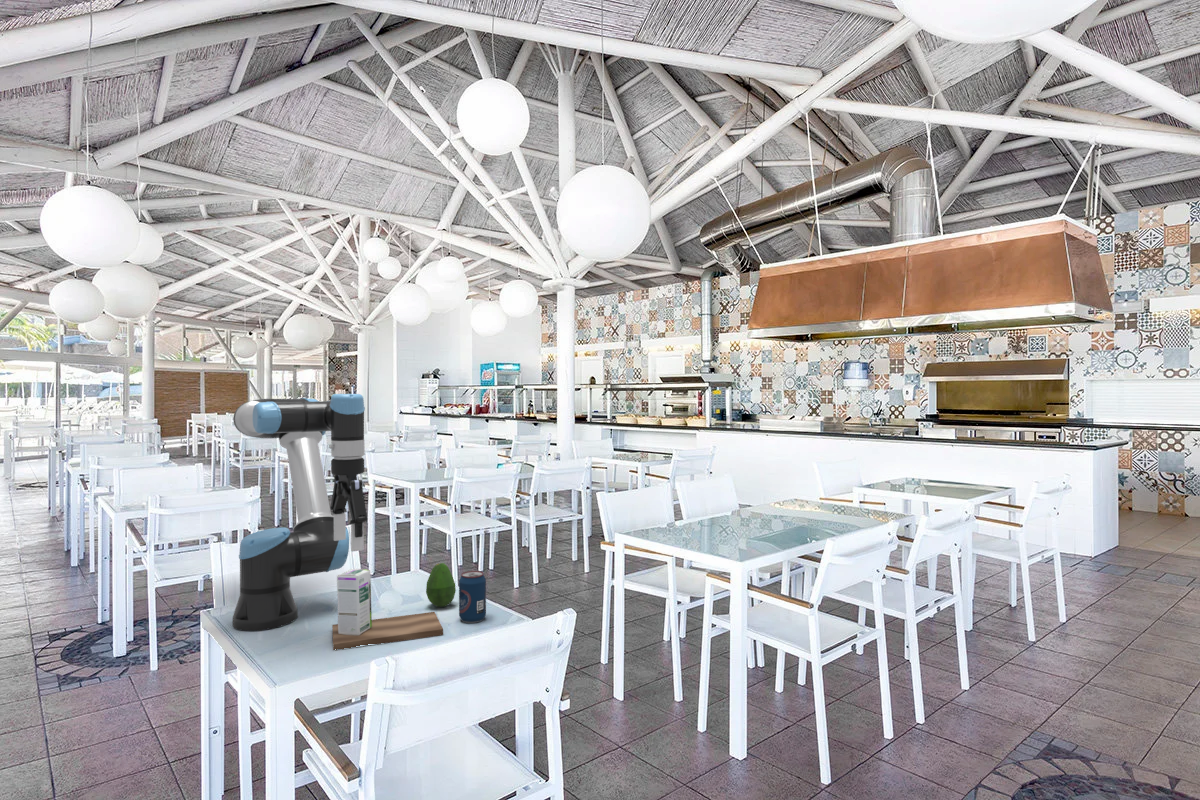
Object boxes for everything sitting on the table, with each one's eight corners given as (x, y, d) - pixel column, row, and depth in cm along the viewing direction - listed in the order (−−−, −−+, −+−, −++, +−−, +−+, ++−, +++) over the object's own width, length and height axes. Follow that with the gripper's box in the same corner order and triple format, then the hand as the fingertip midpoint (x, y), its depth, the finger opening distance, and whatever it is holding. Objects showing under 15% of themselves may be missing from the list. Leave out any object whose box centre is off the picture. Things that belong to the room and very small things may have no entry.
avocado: (443, 600, 190) (443, 558, 190) (461, 605, 185) (460, 562, 185) (420, 607, 184) (419, 563, 184) (437, 613, 179) (437, 568, 179)
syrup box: (359, 636, 158) (358, 575, 158) (337, 634, 159) (336, 574, 159) (372, 627, 164) (371, 569, 163) (350, 626, 165) (350, 567, 165)
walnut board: (332, 630, 166) (332, 624, 166) (434, 617, 175) (434, 611, 175) (333, 650, 153) (333, 644, 153) (443, 635, 162) (443, 628, 162)
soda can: (453, 619, 174) (453, 573, 174) (476, 613, 179) (475, 568, 179) (469, 625, 169) (468, 578, 169) (491, 619, 174) (491, 573, 174)
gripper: (317, 454, 168) (317, 537, 168) (348, 463, 148) (348, 557, 149) (347, 452, 173) (348, 533, 173) (381, 461, 153) (381, 552, 153)
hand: (348, 545), depth 161 cm, fingers open, 13 cm apart
